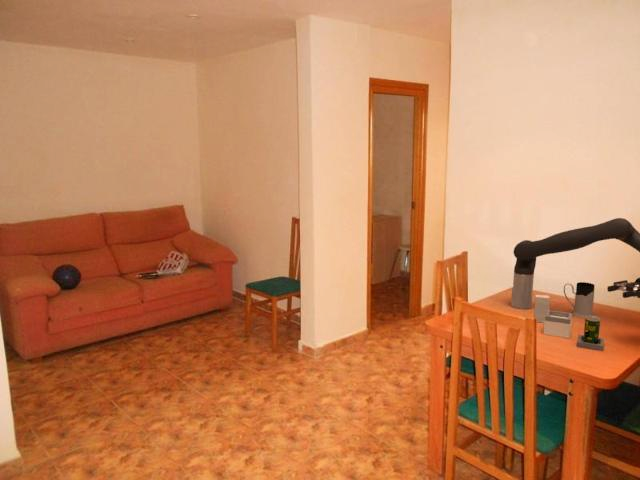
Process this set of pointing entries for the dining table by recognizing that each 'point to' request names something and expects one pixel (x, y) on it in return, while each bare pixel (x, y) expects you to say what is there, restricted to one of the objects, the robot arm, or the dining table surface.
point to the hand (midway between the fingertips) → (615, 292)
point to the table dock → (590, 344)
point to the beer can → (591, 329)
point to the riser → (558, 323)
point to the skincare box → (541, 307)
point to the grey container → (583, 299)
